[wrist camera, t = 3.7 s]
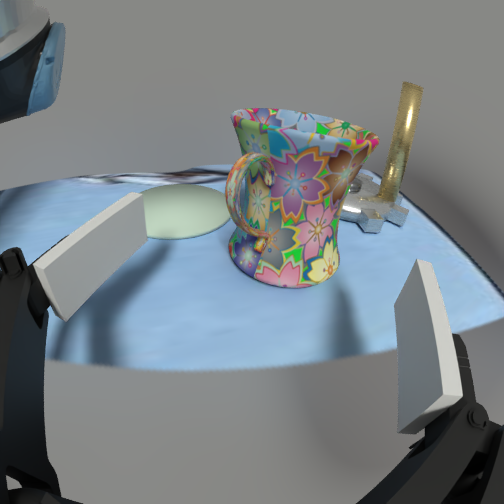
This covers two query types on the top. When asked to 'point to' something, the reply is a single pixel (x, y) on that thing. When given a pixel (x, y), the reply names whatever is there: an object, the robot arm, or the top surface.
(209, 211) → the pale green plate
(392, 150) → the sprocket
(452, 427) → the robot arm
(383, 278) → the top surface
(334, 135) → the mug
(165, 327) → the top surface
